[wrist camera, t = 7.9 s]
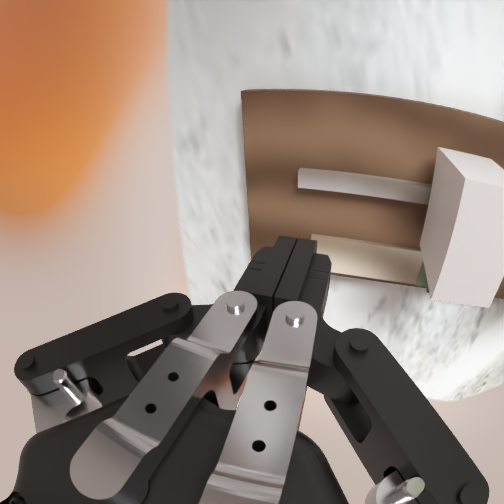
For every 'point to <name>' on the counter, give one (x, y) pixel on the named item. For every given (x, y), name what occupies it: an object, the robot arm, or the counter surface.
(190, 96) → the counter surface
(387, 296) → the counter surface
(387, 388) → the robot arm
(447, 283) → the block
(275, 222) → the base
